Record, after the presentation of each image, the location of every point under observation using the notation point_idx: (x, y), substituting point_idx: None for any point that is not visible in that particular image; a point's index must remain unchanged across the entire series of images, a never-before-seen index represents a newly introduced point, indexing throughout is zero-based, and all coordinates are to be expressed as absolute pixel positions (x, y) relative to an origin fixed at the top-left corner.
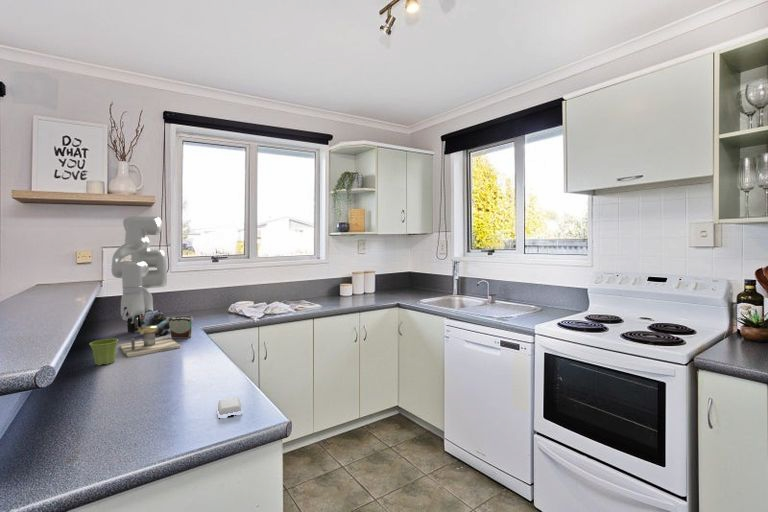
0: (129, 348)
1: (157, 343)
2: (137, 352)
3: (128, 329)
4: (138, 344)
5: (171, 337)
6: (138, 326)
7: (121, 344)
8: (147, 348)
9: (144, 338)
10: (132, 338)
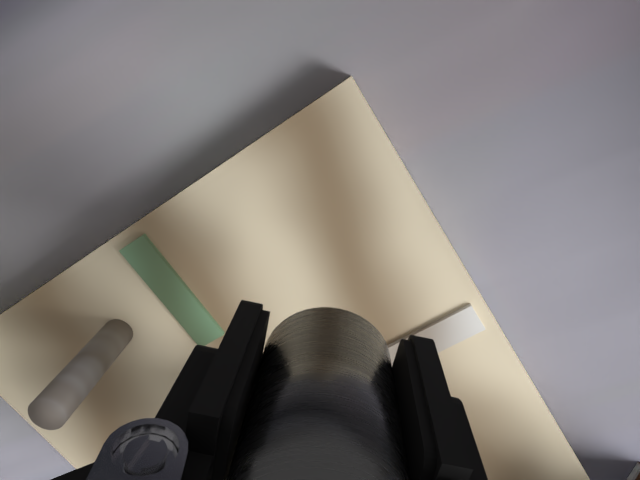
0: (149, 283)
1: None
2: (15, 406)
3: (194, 352)
4: (314, 306)
5: (638, 468)
6: None
7: (357, 97)
8: None
9: None
10: (41, 413)
